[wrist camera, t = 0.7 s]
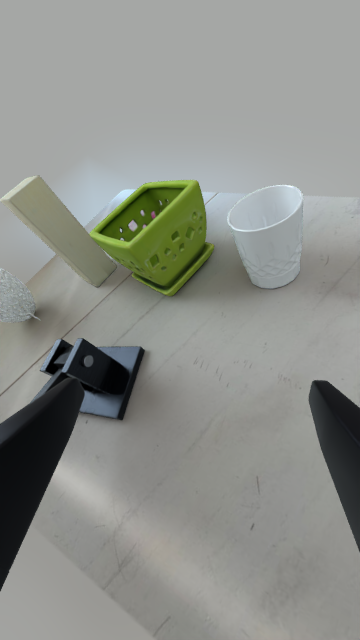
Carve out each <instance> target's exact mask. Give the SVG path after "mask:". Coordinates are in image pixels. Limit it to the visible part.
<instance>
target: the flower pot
mask: <svg viewBox="0 0 360 640" xmlns="http://www.w3.org/2000/svg"><path fill="white" fill-rule="evenodd" d="M159 200H160V201H161V203H162V205H161V203H160V201H159ZM167 200H168V201H167ZM141 210H143V212H144V215H143V216H142V214H141ZM153 211H154V213H155V216H156V217H155V218H154V219H153V218H152V216H151V213H152V212H153ZM132 220H133V221H134V222H135V223H136V224H137V228H136V229H135V230H134V231H132V230H131V229H130V228H129V226H128V224H129V223H130V222H131V221H132ZM144 224H145V225H146V227H145V228H144V229H143V225H144ZM120 228H121V229H122V233H121V232H120ZM90 237H91V238H92V239H93V240H94V241H95V242H96V243H97V244H98V245H99V246H100V247H101V248H102V249H103V250H104V251H105V252H106V253H107V254H109V255H110V256H111V257H112V258H113V259H115V260H116V261H117V262H119V263H120V264H122V265H123V266H125V267H126V268H128V269H130V270H131V271H133V272H134V273H133V274H132V277H133V278H135V279H137V280H138V281H140V282H142V283H144V284H145V285H147V286H149V287H151V288H152V289H154V290H156V291H158V292H160V293H162V294H164V295H167V296H173V295H174V294H175V293H176V292H177V291H178V290H179V289H180V288H181V287H182V286H183V285H184V284H185V283H186V282H187V281H188V279H189V278H190V277H191V276H192V275H193V274H194V273H195V272H196V271H197V270H198V269H199V268H200V267H201V266H202V265H203V263H204V262H205V261H206V260H207V259H208V258H209V257H210V255H211V254H212V252H213V250H214V245H213V244H211V243H207V242H205V239H206V212H205V206H204V201H203V197H202V193H201V189H200V186H199V183H198V182H197V181H196V180H176V181H161V182H150V183H145V184H143V185H142V186H141V187H139V188H138V189H137V190H136V191H135V192H134V193H132V194H131V195H130V196H129V197H128V198H127V199H126V200H125V201H124V202H122V203H121V204H120V205H119V206H118V207H117V208H116V209H115V210H114V211H112V212H111V213H110V214H109V215H108V216H107V217H106V218H105V219H104V220H103V221H102V222H100V223H99V224H98V225H97V226H96V227H95V228H94V229H93V230H92V231H91V232H90ZM121 238H123V239H124V241H122V240H120V239H121ZM133 238H134V239H133ZM132 239H133V240H132Z"/></svg>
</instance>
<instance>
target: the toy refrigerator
mask: <svg viewBox="0 0 360 640" xmlns="http://www.w3.org/2000/svg"><path fill="white" fill-rule="evenodd" d="M0 201H1V202H2V203H3V204H4V205H5V206H6V207H7V208H8V209H9V210H11V211H12V212H13V213H14V214H15V215H16V216H17V217H18V218H19V219H20V220H21V221H22V222H23V223H24V224H25V225H26V226H27V227H29V228H30V229H31V230H32V231H33V232H34V233H35V234H36V235H37V236H38V237H39V238H40V239H41V240H42V241H43V242H44V243H45V244H47V246H49V247H50V248H51V249H52V250H53V251H54V252H55V253H56V254H57V255H58V256H59V257H60V258H61V259H62V260H63V261H64V262H65V263H67V264H68V265H69V266H70V267H71V268H72V269H73V270H74V271H75V272H76V273H77V274H78V275H79V276H80V277H81V278H82V279H84V280H85V281H87V282H89V283H90V284H92V285H94V286H96V287H99V286H100V285H101V284H102V283H103V281H104V280H105V279H106V278H107V277H108V276H109V275H110V274H111V273H112V272H113V271H114V270H115V269H116V265H115V264H114V263H113V262H112V261H111V259H110V258H109V257H108V256H107V255H106V254H105V252H104V251H103V250H102V249H101V248H100V246H99V245H98V244H97V243H96V242H95V241H94V240H93V239H92V238H91V237H90V235H89V234H88V232H87V231H86V230H85V229H84V228H83V226H82V225H81V224H80V223H79V222H78V221H77V219H76V218H75V217H74V216H73V215H72V214H71V212H70V211H69V210H68V209H67V208H66V206H65V205H64V204H63V203H62V202H61V201H60V199H59V198H58V197H57V196H56V195H55V193H54V192H53V191H52V190H51V189H50V188H49V186H48V185H47V184H46V183H45V182H44V180H43V179H42V178H41V177H40V176H39V175H37V176H32V177H28V178H26V179H25V180H24V181H22V182H21V183H20V184H18V185H17V186H16V187H15V188H13V189H12V190H11V191H10V192H8V193H7V194H6V195H5V196H3V197H2V198H1V199H0Z"/></svg>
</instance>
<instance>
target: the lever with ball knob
mask: <svg viewBox="0 0 360 640" xmlns="http://www.w3.org/2000/svg"><path fill="white" fill-rule="evenodd" d="M73 347H74V346H68V347H67V348H66V349H65V351H64V352H63V353H62V354H61V355H60V356H59V357H58V359H57V360H56V361H55V362H54V364H55V365H56V366H57V367H58V368H59V369H58V370H57V371H56V372H55V374H54V375H53V376H52V377H51V378H50V380H49V381H48V382H47V383H46V384H45V386H44V387H43V388H42V389H41V390H40V392H39V393H38V394H37V395H36V396H35V398H34V399H33V400H32V401H31V402H33V401H34V400H36V399H37V398H39V397H40V396H41V395H43V394H44V393H46V392H47V391H49V390H50V389H52V388H53V387H55V386H56V385H57V384H59V383H60V382H62V381H63V380H65V379H66V377H67V376H68V375H65V374H63V373H61V371H62V369H63V367H64V365H65V363H66V361H67V359H68V357H69V355H70V353H71V351H72V349H73ZM31 402H30V403H31Z"/></svg>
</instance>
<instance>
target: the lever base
mask: <svg viewBox="0 0 360 640" xmlns="http://www.w3.org/2000/svg"><path fill="white" fill-rule="evenodd" d="M68 346H72V345H71V344H69V343H68V342H66V341H64V340H63V339H57V341H56V342H55V344H54V346H53V348H52V350H51V351H50V353H49V355H48V357H47V359H46V360H45V362H44V364H43V366H42V368H41V369H40V371H41V372H44V373H46V374H48V375H50V376H53V375H54V374H55V372H56V371H57V370H58V369H59V368H58V367H57V366H56V365H55V364H54V362H55V361H56V360H57V359H58V357H59V356H60V355H61V354H62V353H63V352H64V351H65V349H66V348H67V347H68ZM144 351H145V350H144V349H143V348H142V347H95V346H94V345H92V344H91V343H89V342H88V341H86V340H85V339H83V338H78V339H77V341H76V343H75V345H74V347H73V349H72V351H71V353H70V355H69V357H68V359H67V361H66V363H65V365H64V367H63V369H62V371H61V373H63V374H65V375H68V376H67V377H66V378H77V379H78V380H79V381H80V383H81V385H82V387H83V389H84V391H85V396H84V399H83V402H82V405H81V408H80V411H79V412H80V413H86V414H91V415H96V416H102V417H107V418H112V419H117V420H122V419H123V416H124V413H125V410H126V407H127V404H128V401H129V398H130V395H131V391H132V388H133V385H134V382H135V379H136V376H137V373H138V370H139V366H140V363H141V360H142V357H143V354H144Z"/></svg>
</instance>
